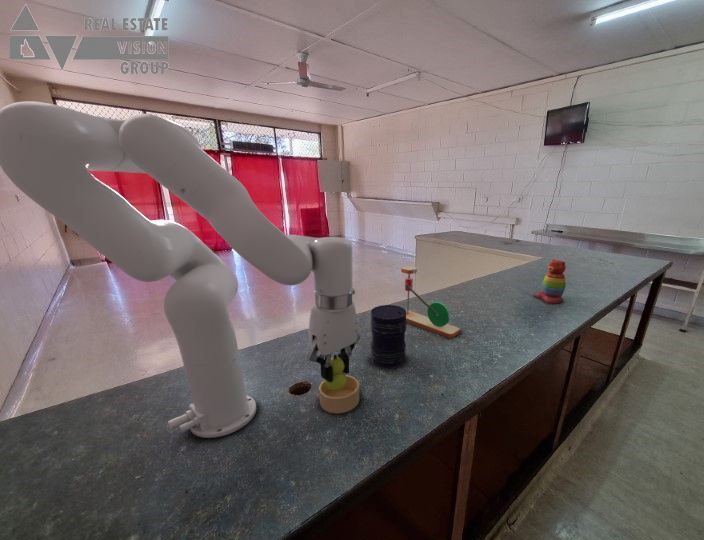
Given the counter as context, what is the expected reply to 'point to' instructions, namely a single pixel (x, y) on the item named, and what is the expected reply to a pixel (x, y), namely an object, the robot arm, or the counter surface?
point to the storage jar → (388, 336)
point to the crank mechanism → (428, 312)
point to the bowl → (340, 396)
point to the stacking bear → (553, 283)
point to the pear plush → (337, 374)
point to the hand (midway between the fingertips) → (335, 374)
